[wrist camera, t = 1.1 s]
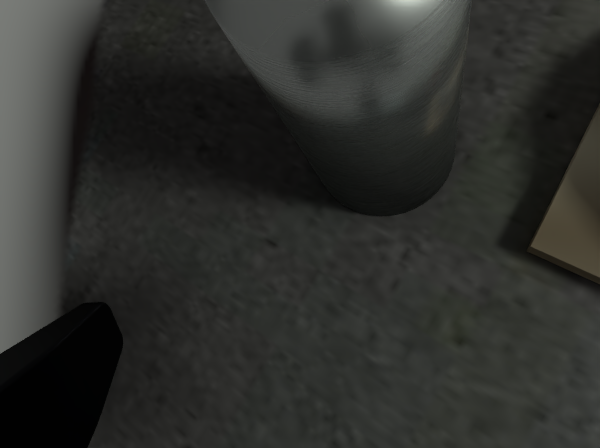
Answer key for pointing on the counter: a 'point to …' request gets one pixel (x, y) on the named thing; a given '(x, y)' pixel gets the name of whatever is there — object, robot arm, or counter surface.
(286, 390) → the counter surface
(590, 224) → the socket plate
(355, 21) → the steel peg
